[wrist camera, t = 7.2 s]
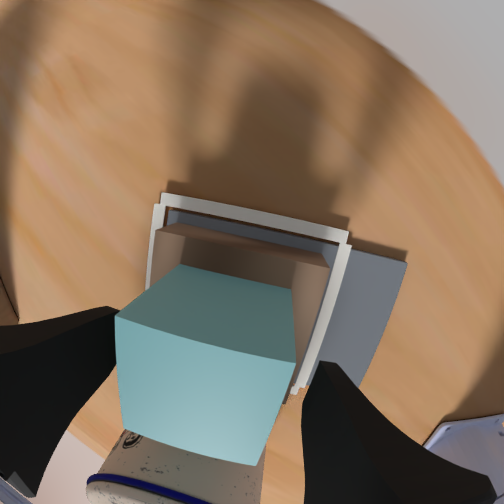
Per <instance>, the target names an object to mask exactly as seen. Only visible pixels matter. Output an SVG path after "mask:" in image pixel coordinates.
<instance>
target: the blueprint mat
mask: <svg viewBox="0 0 504 504" xmlns="http://www.w3.org/2000/svg"><path fill="white" fill-rule="evenodd" d="M166 206H170V207H176V208H181V209H186V210H191V211H196V212H201V213H206V214H211V215H216V216H221V217H226V218H231V219H236V220H240V221H245V222H250V223H255V224H259V225H264V226H269V227H273V228H278V229H282V230H287V231H291V232H296V233H300V234H305V235H309V236H313V237H318V238H322V239H326V240H331V241H335V242H339V245H335V244H331V243H327V242H322V241H318V240H314V239H309V238H305V237H300V236H296V235H291V234H287V233H282V232H278V231H273V230H269V229H264V228H260V227H255V226H250V225H245V224H241V223H236V222H231V221H226V220H222V219H217V218H212V217H207V216H202V215H197V214H192V213H187V212H182V211H177V210H169V213H168V220H167V226H168V225H171V224H173V223H176V222H178V223H183V224H187V225H192V226H197V227H202V228H207V229H211V230H216V231H221V232H225V233H230V234H235V235H239V236H244V237H249V238H253V239H258V240H262V241H267V242H272V243H276V244H281V245H285V246H290V247H294V248H299V249H303V250H308V251H312V252H317V253H321V254H322V255H323V257H324V258H325V260H326V262H327V264H328V265H329V267H330V271H329V275H328V279H327V282H326V286H325V289H324V292H323V296H322V299H321V303H320V306H319V309H318V312H317V316H316V319H315V322H314V325H313V328H312V331H311V334H310V337H309V340H308V343H307V346H306V349H305V352H304V355H303V358H302V361H301V364H300V366H299V369H298V372H297V375H296V377H295V380H294V383H295V385H293V386H292V388H291V391H290V393H289V394H295V395H297V392H298V390H299V387H301V388H305V386H306V385H309V386H310V384H311V381H312V379H313V376H314V374H315V371H316V368H317V366H318V363H319V361H320V360H321V361H328V362H334V363H337V364H338V365H339V366H340V367H341V368H342V370H343V371H344V372H345V373H346V374H347V375H348V377H349V378H350V379H351V380H352V381H353V383H354V384H355V385H356V386H357V387H359V385H360V383H361V381H362V379H363V377H364V375H365V373H366V371H367V369H368V367H369V365H370V362H371V360H372V358H373V356H374V353H375V351H376V349H377V347H378V344H379V342H380V339H381V337H382V335H383V332H384V330H385V327H386V325H387V322H388V320H389V317H390V314H391V312H392V309H393V306H394V303H395V301H396V298H397V295H398V292H399V289H400V286H401V283H402V280H403V277H404V274H405V271H406V267H407V264H408V263H406V262H405V261H401V260H397V259H393V258H389V257H385V256H381V255H377V254H373V253H369V252H365V251H360V250H356V249H352V248H351V247H352V245H349V244H346V242H347V238H348V234H349V231H345V230H341V229H337V228H333V227H329V226H325V225H321V224H316V223H312V222H308V221H303V220H299V219H295V218H290V217H286V216H281V215H276V214H272V213H267V212H263V211H258V210H253V209H248V208H243V207H238V206H234V205H229V204H223V203H218V202H213V201H208V200H203V199H197V198H192V197H187V196H181V195H175V194H170V193H164V192H162V194H161V201H160V204H156V203H155V204H154V211H153V218H152V225H151V234H150V242H149V251H148V262H147V273H146V286H145V291H146V290H147V289H148V288H149V287H150V275H151V264H152V254H153V245H154V237H155V230H157V229H160V228H162V227H163V224H164V217H165V210H166Z"/></svg>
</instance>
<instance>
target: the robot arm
mask: <svg viewBox="0 0 504 504" xmlns="http://www.w3.org/2000/svg"><path fill="white" fill-rule="evenodd" d="M119 312H120V310H117V309H114V308H112V307H109V306H103V307H98V308H93V309H89V310H85V311H81V312H77V313H73V314H69V315H66V316H62V317H57V318H53V319H48V320H43V321H38V322H33V323H26V324H18V325H3V326H0V476H1V477H2V478H3V479H4V480H5V481H7V482H8V483H9V484H11V485H12V486H13V487H15V488H16V489H17V490H18V491H19V492H21V493H22V494H23V495H24V496H26V497H28V498H30V497H31V498H32V497H36V494H37V491H38V488H39V485H40V482H41V480H42V477H43V474H44V472H45V470H46V467H47V465H48V463H49V461H50V458H51V456H52V454H53V452H54V450H55V448H56V447H57V445H58V443H59V441H60V439H61V437H62V436H63V434H64V432H65V431H66V429H67V428H68V426H69V424H70V423H71V421H72V420H73V418H74V417H75V415H76V414H77V413H78V411H79V410H80V409H81V408H82V407H83V406H84V404H85V403H86V402H87V401H88V400H89V398H90V397H91V396H92V395H93V394H94V393H95V391H96V390H97V389H98V388H99V387H100V386H101V384H102V383H103V382H104V381H105V380H106V378H107V377H108V376H109V375H110V373H111V372H112V370H113V369H114V367H115V365H116V364H117V362H116V344H115V315H116V314H117V313H119ZM503 421H504V414H500V415H495V416H490V417H484V418H477V419H470V420H463V421H454V422H445V423H442V424H441V425H439V426H438V428H437V429H436V430H435V432H434V433H433V434H432V436H431V437H430V438H429V440H428V441H427V442H426V443H425V445H424V446H421V445H420V444H418V443H417V442H415V441H414V440H412V439H411V438H409V437H408V436H407V435H406V434H404V433H403V432H402V431H401V430H399V429H398V428H397V427H396V426H395V425H393V424H392V423H391V422H390V421H389V420H388V419H387V418H386V417H385V416H384V415H383V414H382V413H381V412H380V411H379V410H378V409H377V408H376V407H375V406H374V405H373V404H372V403H371V402H370V401H369V400H368V399H367V398H366V397H365V395H364V394H363V393H362V392H361V391H360V390H359V389H358V387H357V386H356V385H355V384H354V383H353V381H352V380H351V379H350V378H349V377H348V375H347V374H346V373H345V372H344V371H343V370H342V368H341V367H340V366H339V365H338V364H337V363H334V362H328V361H321V360H320V361H319V363H318V366H317V368H316V371H315V374H314V376H313V379H312V381H311V384H310V386H309V388H308V391H307V393H306V396H305V398H304V400H303V403H302V419H301V431H302V445H303V457H304V470H305V495H304V504H504V427H503V425H502V423H503ZM4 480H2V479H1V478H0V500H1V502H3V503H4V504H32V503H31V502H29V501H28V500H27V499H26V498H24V497H23V496H22V495H20V494H19V493H18V492H17V491H15V490H14V489H13V488H12V487H11V486H9V485H8V484H7V483H6V482H5V481H4Z"/></svg>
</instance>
